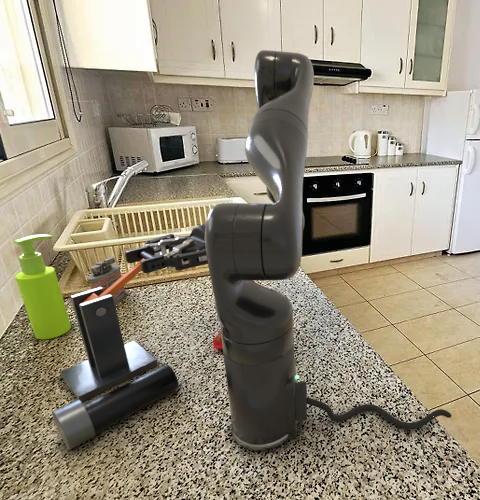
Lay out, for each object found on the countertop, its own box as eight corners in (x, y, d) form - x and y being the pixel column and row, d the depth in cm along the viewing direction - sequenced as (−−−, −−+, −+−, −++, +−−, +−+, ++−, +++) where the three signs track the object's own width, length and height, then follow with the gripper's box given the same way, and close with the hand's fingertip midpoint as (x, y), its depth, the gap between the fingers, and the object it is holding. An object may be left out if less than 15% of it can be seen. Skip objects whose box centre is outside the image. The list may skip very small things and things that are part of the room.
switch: (149, 256, 68) (141, 246, 66) (164, 264, 65) (155, 254, 63) (85, 310, 62) (74, 302, 60) (98, 322, 59) (86, 314, 57)
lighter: (103, 309, 84) (93, 269, 80) (90, 308, 84) (80, 267, 81) (130, 293, 91) (121, 255, 88) (118, 291, 92) (109, 254, 88)
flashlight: (165, 379, 63) (159, 352, 61) (182, 395, 60) (177, 366, 58) (59, 435, 52) (48, 404, 50) (73, 458, 49) (62, 425, 47)
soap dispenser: (82, 326, 77) (56, 235, 70) (42, 342, 72) (10, 246, 65) (68, 318, 80) (43, 229, 73) (29, 333, 75) (-2, 239, 68)
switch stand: (135, 345, 72) (120, 275, 67) (157, 365, 67) (143, 291, 61) (61, 377, 63) (36, 300, 58) (80, 403, 58) (55, 321, 53)
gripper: (200, 214, 79) (112, 232, 66) (241, 229, 70) (149, 252, 58) (203, 248, 81) (120, 271, 69) (244, 266, 73) (157, 295, 61)
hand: (134, 262), depth 64 cm, fingers closed on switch, 5 cm apart
